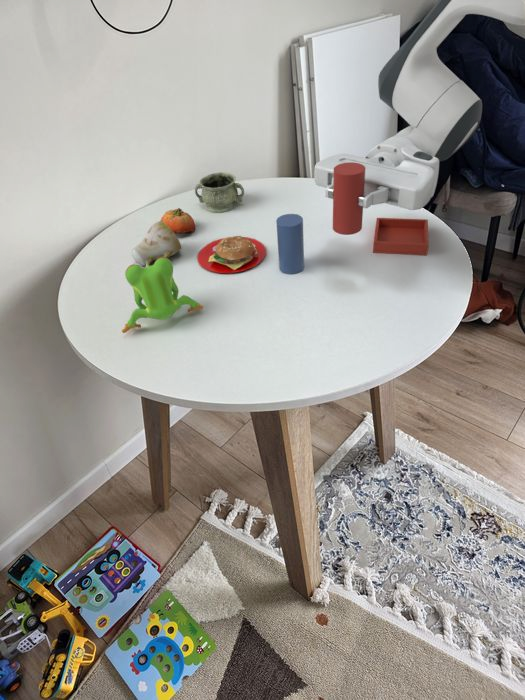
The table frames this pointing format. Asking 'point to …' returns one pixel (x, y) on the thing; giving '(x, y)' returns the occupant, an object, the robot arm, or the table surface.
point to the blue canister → (290, 243)
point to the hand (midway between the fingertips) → (345, 198)
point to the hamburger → (231, 254)
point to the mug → (156, 244)
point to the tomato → (178, 221)
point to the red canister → (348, 197)
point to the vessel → (219, 192)
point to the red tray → (401, 236)
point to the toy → (155, 292)
